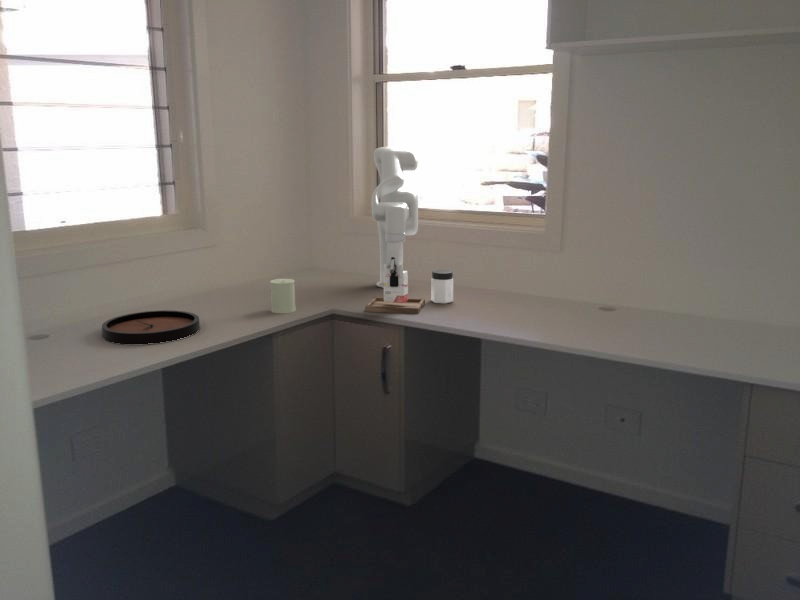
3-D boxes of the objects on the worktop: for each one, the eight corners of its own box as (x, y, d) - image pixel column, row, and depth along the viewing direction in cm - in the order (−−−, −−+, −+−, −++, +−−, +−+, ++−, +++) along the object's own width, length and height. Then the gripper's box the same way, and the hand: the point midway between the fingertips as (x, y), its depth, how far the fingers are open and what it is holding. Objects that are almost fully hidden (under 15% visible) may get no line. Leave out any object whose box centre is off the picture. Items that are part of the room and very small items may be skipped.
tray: (375, 301, 290) (374, 297, 290) (424, 303, 286) (424, 298, 286) (365, 311, 275) (365, 306, 274) (418, 313, 271) (418, 308, 271)
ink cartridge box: (408, 300, 281) (408, 262, 277) (403, 303, 276) (403, 265, 273) (388, 298, 284) (387, 261, 281) (383, 301, 279) (382, 263, 276)
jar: (441, 304, 285) (442, 274, 282) (426, 301, 291) (427, 271, 288) (457, 300, 291) (457, 271, 288) (442, 297, 297) (442, 268, 294)
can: (273, 314, 271) (271, 282, 268) (269, 309, 279) (267, 278, 277) (297, 312, 274) (296, 281, 271) (293, 307, 282) (292, 276, 280)
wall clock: (203, 328, 239) (100, 337, 228) (204, 339, 239) (101, 350, 229) (194, 307, 267) (102, 315, 256) (195, 317, 268) (103, 326, 257)
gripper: (390, 234, 283) (390, 280, 288) (380, 240, 267) (381, 289, 271) (409, 234, 282) (409, 280, 286) (401, 241, 266) (401, 289, 270)
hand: (395, 284), depth 279 cm, fingers closed on ink cartridge box, 5 cm apart
